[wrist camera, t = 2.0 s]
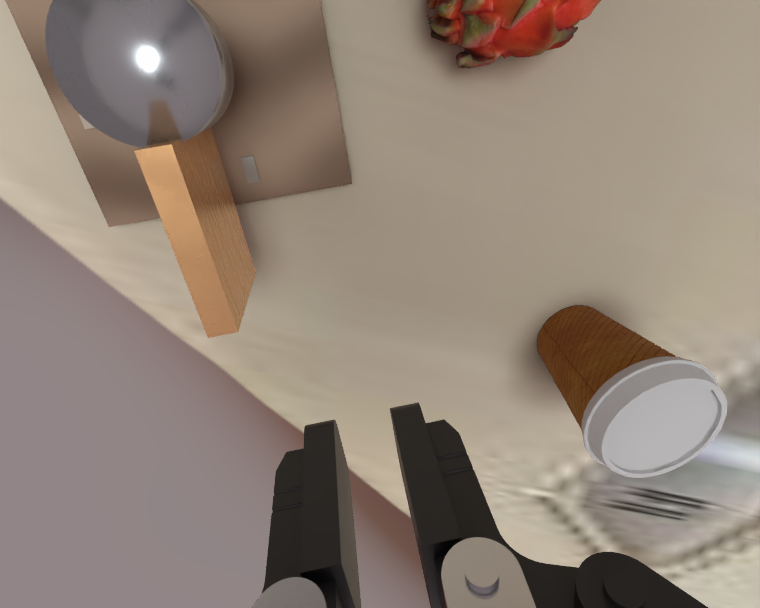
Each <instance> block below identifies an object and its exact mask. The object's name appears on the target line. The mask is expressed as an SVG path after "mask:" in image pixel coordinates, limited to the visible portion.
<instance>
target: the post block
mask: <svg viewBox="0 0 760 608" xmlns="http://www.w3.org/2000/svg"><path fill="white" fill-rule="evenodd" d="M5 1H6V3H7V5H8V7H9V9H10V12H11V14H12V16H13V18H14V20H15V22H16V25H17V27H18V29H19V31H20V33H21V36H22V38H23V40H24V42H25V44H26V46H27V49H28V51H29V53H30V55H31V57H32V60H33V62H34V64H35V66H36V68H37V70H38V73H39V75H40V77H41V79H42V81H43V84H44V86H45V88H46V90H47V92H48V95H49V97H50V99H51V101H52V103H53V105H54V108H55V110H56V112H57V114H58V116H59V119H60V121H61V123H62V125H63V127H64V129H65V132H66V134H67V136H68V138H69V140H70V143H71V145H72V147H73V149H74V151H75V154H76V156H77V158H78V160H79V162H80V164H81V167H82V169H83V171H84V173H85V175H86V178H87V180H88V182H89V184H90V186H91V188H92V191H93V193H94V195H95V197H96V199H97V202H98V204H99V206H100V208H101V210H102V213H103V215H104V217H105V219H106V221H107V223H108V226H109V227H112V226H117V225H123V224H128V223H134V222H140V221H145V220H151V219H156V218H160V215H159V213H158V210H157V207H156V205H155V202H154V200H153V197H152V195H151V192H150V190H149V187H148V185H147V182H146V180H145V177H144V175H143V172H142V170H141V167H140V164H139V162H138V159H137V157H136V154H135V152H134V150H137V149H139V148H142V147H136V146H132V145H129V144H125V143H122V142H120V141H118V140H115V139H113V138H111V137H109V136H107V135H106V134H104V133H102V132H101V131H99V130H98V129H96V128H95V127H93V126H92V125H91V124H90V123H89V122H88V121H86V120H85V119H84V118H83V117H82V116H81V115H80V114H79V113H78V112H77V111H76V110H75V109H74V107H73V106H72V105H71V104H70V102H69V101H68V100H67V98H66V97H65V95H64V94H63V92H62V91H61V89H60V87H59V85H58V83H57V81H56V79H55V77H54V75H53V72H52V69H51V67H50V63H49V59H48V56H47V50H46V43H45V26H46V19H47V15H48V11H49V8H50V5H51V3H52V1H53V0H5ZM194 1H195V2H196V3H197V4H199V5H200V6H201V7H202V8H203V9H204V10H205V11H206V12H207V13H208V14H209V15H210V16H211V17H212V19H213V20H214V21H215V23H216V24H217V25H218V27H219V29H220V30H221V32H222V34H223V35H224V38H225V40H226V42H227V44H228V47H229V50H230V53H231V56H232V61H233V67H234V87H233V94H232V97H231V100H230V103H229V105H228V107H227V110H226V111H225V113H224V114H223V116H222V117H221V118H220V119H219V120H218V122H217V123H216V124H214V125H213V126H212V127H211V129H212V132H213V135H214V138H215V142H216V145H217V148H218V151H219V155H220V158H221V161H222V164H223V168H224V171H225V174H226V177H227V181H228V184H229V187H230V190H231V194H232V197H233V200H234V203H235V204H240V203H246V202H252V201H257V200H263V199H268V198H274V197H280V196H285V195H291V194H296V193H302V192H308V191H313V190H319V189H324V188H330V187H336V186H341V185H347V184H352V180H351V175H350V169H349V163H348V158H347V152H346V146H345V140H344V135H343V129H342V123H341V118H340V112H339V106H338V100H337V95H336V89H335V83H334V77H333V72H332V66H331V60H330V55H329V49H328V43H327V37H326V32H325V26H324V20H323V15H322V9H321V3H320V0H194Z"/></svg>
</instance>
